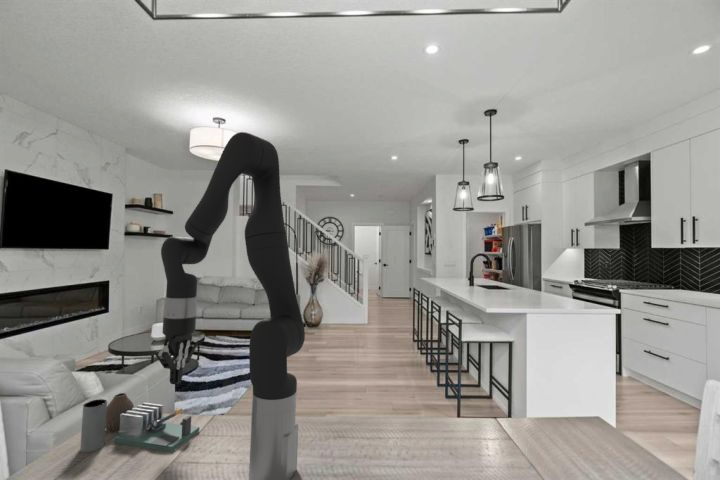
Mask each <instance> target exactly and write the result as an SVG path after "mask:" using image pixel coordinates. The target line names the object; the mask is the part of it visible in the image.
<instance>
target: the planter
mask: <svg viewBox="0 0 720 480" xmlns="http://www.w3.org/2000/svg"><path fill="white" fill-rule="evenodd" d="M107 403H108V401H107V399H102V398H100V399H93V400H89V401H86V402H85V403H84V404H83V407H82V417H81V418H82V419H81V433H80V436H81V437H80V452H81V453H91V452H92V453H93V452H95V451H98V450H100V449H102V448H103V447H104V446H105V437H106V428H105V425H106V410H107V406H108V404H107Z"/></svg>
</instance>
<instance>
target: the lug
mask: <svg viewBox="0 0 720 480" xmlns="http://www.w3.org/2000/svg"><path fill="white" fill-rule="evenodd" d="M179 424H180V425H182V436H186V435H187V434H189V433H190V432H191V426H192V415H187V416H185V417H183V418H182V421H181V422H180V423H179Z"/></svg>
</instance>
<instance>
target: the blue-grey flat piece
mask: <svg viewBox="0 0 720 480" xmlns="http://www.w3.org/2000/svg"><path fill="white" fill-rule="evenodd" d="M180 413H183V408H180V409H178V410H177V411H174V412H173V413H171V414H169V415H167V416H165V417H164V416H163V417H162V418H161V419H159V420H157V421H156V422H154V423H152V427H153V428H155V427H157V426H158V425H160V424H162V423H163V422H167V421H168V420H170V419H171V418H174V417H176V416H177V415H179V414H180Z"/></svg>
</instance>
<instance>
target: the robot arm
mask: <svg viewBox="0 0 720 480" xmlns="http://www.w3.org/2000/svg"><path fill="white" fill-rule="evenodd" d="M242 174H243V175H245V176H249V177H251V179H252V183H253V190H254V191H253V192H254V203H253V205H252V209H251V211H250V213H249V216H248V218H247V221H246V224H245V228H244V242H245V249H246V255H247V260H248V263H249V266H250V268H251V269H252V271H253V273H254V275H255V277H256V278H257V280H258V282H259V283H260V284H261V286H262V288H263V290H264V291H265V294H266V297H267V301H268V306H269V316H270V317H268V318H264V319H262V320H261V319H260V320H259V321H258V322H256V324H255V325H254V326H253V327H252V330H251V333H250V338H249V349H248V350H249V357H248V358H249V360H248V361H249V379H250V382H251V386H252V403H251V404H252V405H251V419H250V420H251V422H250V423H251V425H250V444H249V464H248V466H249V467H248V472H249V473H248V479H249V480H291V478H292V477H293V475H294V474H295V473H296V471H297V469H298V467H297V466H298V452H299V451H298V450H299V449H298V448H299V424H298V423H296V417H297V415H296V411H297V390H298V386H297V385H298V381H297V380H298V379H297V378H296V376H295V375H294V374H292V373H290V372H288V358H289V357H291V356H293V355H295V354H297V353H298V352H300V351H301V349H302V348H303V346H304V343H305V338H306V332H305V326H304V321H303V317H302V313H301V309H300V306H299V302H298V298H297V295H296V289H295V283H294V277H293V270H292V266H291V265H292V264H291V259H290V250H289V243H288V236H287V230H286V225H285V221H284V220H285V219H284V212H283V204H282V196H281V195H282V194H281V181H280V180H281V179H280V160H279V154H278V150H277V148H276V146H275V145H273V143H272V142H270V141H268V140H266V139H264V138H261V137H259V136H257V135H254V134H252V133H249V132H248V131H239V132H236V133H235V134H233V135H232V136H231V137H230V139H229V140H228V142H226V144H225V146H224V149H223V151H222V153H221V155H220V157H219V159H218V161H217V164H216V166H215V169H214V171H213V173H212V175H211V178H210V180H209V182H208V185H207V188H206V189H205V191H204V193H203V195H202V196H201V198H200V200H199V202H198V203H197V205H196V206H195V208H194V209H193V211H192V213H191V214H190V215H189V217H188V219H187V221H186V222H185V224H184V230H185V232H186V233H187V235H188V236H190V237H188V236H187V237H185V236H169V237H168V238H166V239H165V240H164V241H163V243H162V246H161V249H160V257H161V260H162V265H163V268H164V274H165V279H166V289H165V290H166V291H165V293H166V294H165V302H164V304H163V317H162V318H163V319H162V335H164V336H165V339H164V342H163V347H162V348H161V350H157V351H156V352H155V357H156V358H157V359H158V361H159V362H160V364H161V366H162V367H163V369H168V370H170V371H169V383H170V384H171V385H178V384H180V383H182V379H183V372H184V371H183V369H184V367H185V366H186V364H189V363H190V361H191V359H192V357H193V355H194V352H195V351H196V348H197V346H198V341H196V340H193V336H192V334H194V333H195V332H196V325H197V310H198V309H197V308H198V307H197V304H198V303H197V293H198V292H197V291H198V277H197V276H196V275H194V274H193V273H189V272H188V273H187V272H186V271H185V270H184V266H183V265H197V264H199V263H201V262H203V260H204V259H205V258H206V257H207V254H208V252H209V248H210V245H211V242H212V238H213V236H214V235H215V233H216V232H218V231H217V230H218V229H219V228H220V226H221V225H222V224H223V222H224V220H225V219H226V216H227V214H228V210H229V195H230V190H231V188H232V187H233V184H234V183H235V181H236V180H237V179H238V178H239V176H241V175H242Z"/></svg>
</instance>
